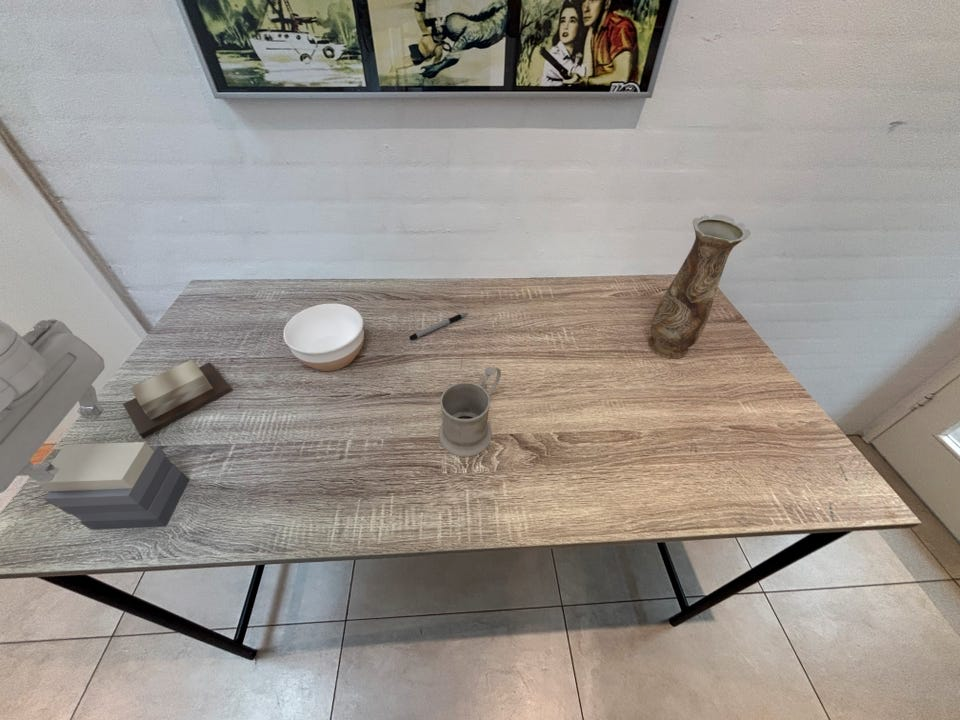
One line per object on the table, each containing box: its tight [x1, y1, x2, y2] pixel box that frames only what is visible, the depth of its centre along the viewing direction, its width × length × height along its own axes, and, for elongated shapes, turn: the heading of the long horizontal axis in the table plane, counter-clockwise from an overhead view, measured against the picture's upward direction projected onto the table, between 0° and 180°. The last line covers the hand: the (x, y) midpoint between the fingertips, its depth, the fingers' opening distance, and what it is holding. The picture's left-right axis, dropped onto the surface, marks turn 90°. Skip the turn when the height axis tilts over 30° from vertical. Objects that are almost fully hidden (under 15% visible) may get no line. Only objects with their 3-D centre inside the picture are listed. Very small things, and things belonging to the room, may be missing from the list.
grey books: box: [43, 445, 190, 531], centre depth 62 cm, size 11×8×10 cm
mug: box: [438, 366, 502, 458], centre depth 73 cm, size 14×10×12 cm
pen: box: [409, 312, 469, 341], centre depth 97 cm, size 1×16×1 cm, turn 127°
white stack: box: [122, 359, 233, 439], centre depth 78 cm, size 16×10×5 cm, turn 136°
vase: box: [647, 214, 751, 360], centre depth 85 cm, size 10×11×30 cm
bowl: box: [282, 303, 365, 372], centre depth 88 cm, size 16×16×8 cm
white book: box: [35, 441, 154, 493], centre depth 57 cm, size 11×6×2 cm, turn 93°
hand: (74, 443), depth 54 cm, fingers open, 8 cm apart
